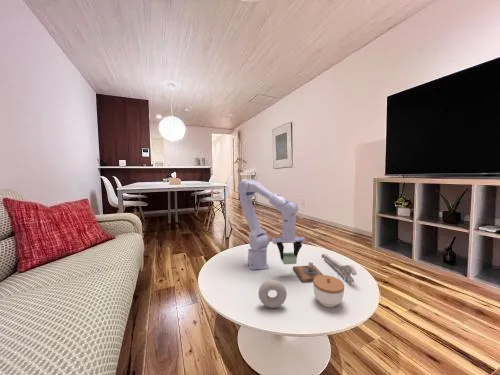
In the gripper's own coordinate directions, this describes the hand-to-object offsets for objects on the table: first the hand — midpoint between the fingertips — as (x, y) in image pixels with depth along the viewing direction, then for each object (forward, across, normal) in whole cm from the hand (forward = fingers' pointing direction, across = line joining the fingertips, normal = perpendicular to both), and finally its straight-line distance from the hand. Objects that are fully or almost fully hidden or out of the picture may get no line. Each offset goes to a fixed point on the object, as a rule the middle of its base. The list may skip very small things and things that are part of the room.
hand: (288, 258), depth 96 cm
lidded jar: (+9, +9, -20) cm, 24 cm away
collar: (+2, 0, 0) cm, 2 cm away
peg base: (+9, +10, 0) cm, 13 cm away
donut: (+9, -12, -20) cm, 25 cm away
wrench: (+9, +25, +2) cm, 27 cm away
